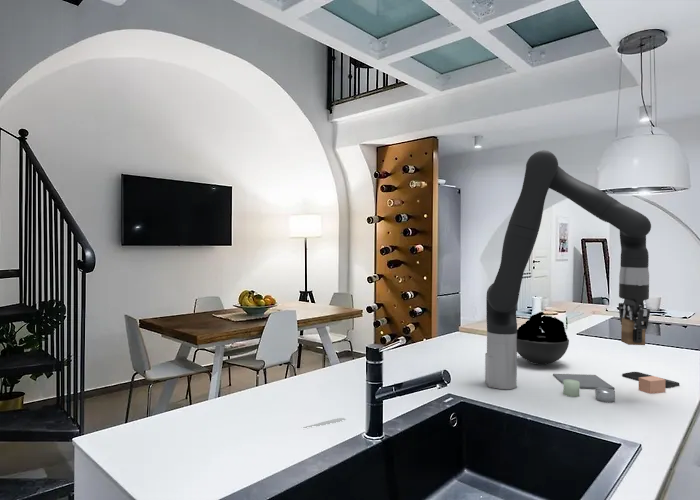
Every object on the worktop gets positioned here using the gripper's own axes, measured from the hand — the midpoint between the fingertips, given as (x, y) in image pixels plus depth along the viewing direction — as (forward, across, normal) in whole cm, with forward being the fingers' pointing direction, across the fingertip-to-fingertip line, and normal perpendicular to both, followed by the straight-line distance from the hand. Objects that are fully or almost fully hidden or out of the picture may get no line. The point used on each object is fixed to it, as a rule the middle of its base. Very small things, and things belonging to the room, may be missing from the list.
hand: (632, 340), depth 137 cm
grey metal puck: (+17, +2, -8) cm, 19 cm away
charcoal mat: (+17, -15, -9) cm, 24 cm away
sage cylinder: (+17, -2, -17) cm, 24 cm away
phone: (+18, -19, +14) cm, 29 cm away
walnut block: (+1, 0, 0) cm, 1 cm away
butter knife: (+18, +33, -93) cm, 100 cm away
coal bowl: (+17, -37, -16) cm, 43 cm away
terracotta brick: (+17, -8, +9) cm, 21 cm away
